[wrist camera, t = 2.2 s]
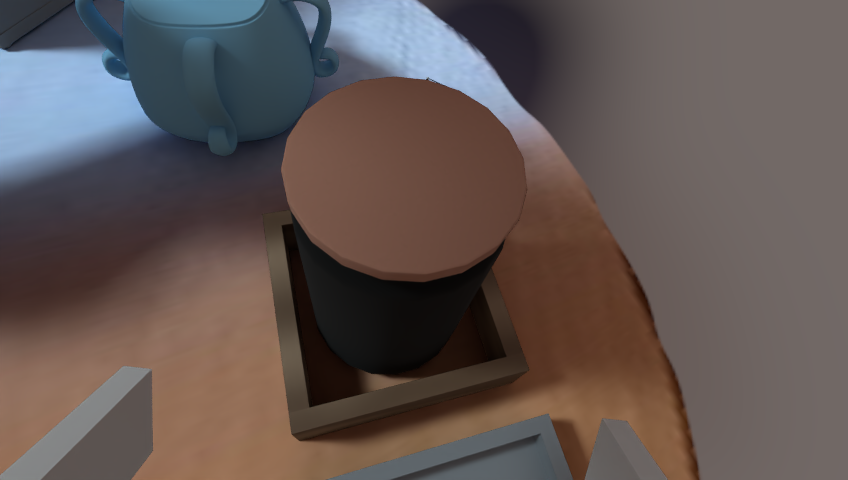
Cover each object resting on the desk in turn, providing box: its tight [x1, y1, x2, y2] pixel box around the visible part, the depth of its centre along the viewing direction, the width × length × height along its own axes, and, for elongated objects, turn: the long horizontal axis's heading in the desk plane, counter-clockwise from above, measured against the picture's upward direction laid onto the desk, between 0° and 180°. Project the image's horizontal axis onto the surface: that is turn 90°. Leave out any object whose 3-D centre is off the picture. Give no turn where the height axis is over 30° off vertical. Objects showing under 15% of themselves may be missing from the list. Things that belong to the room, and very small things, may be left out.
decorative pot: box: [75, 0, 339, 156], centre depth 38 cm, size 16×16×14 cm
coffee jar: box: [281, 77, 527, 375], centre depth 28 cm, size 11×11×18 cm
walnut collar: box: [262, 210, 529, 441], centre depth 34 cm, size 15×15×4 cm
